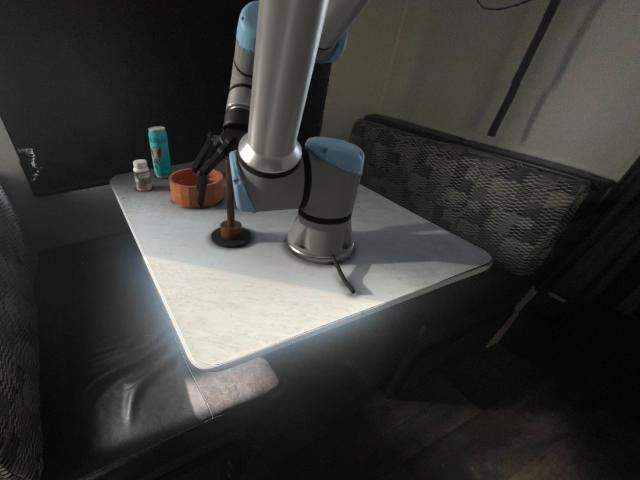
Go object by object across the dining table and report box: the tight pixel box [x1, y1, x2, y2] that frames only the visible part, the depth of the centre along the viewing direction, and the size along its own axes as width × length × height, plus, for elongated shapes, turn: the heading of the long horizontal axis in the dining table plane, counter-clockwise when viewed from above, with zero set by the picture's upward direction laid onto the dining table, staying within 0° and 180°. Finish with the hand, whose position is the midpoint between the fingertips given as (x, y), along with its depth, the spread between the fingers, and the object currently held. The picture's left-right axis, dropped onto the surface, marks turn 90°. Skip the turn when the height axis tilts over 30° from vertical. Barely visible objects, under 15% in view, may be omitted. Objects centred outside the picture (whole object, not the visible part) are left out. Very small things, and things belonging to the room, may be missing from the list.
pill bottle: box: [132, 158, 153, 191], centre depth 104 cm, size 5×5×8 cm
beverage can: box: [148, 125, 172, 179], centre depth 110 cm, size 6×6×15 cm
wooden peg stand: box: [219, 157, 243, 240], centre depth 76 cm, size 5×5×18 cm
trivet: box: [210, 226, 252, 249], centre depth 82 cm, size 10×10×1 cm
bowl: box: [168, 167, 225, 209], centre depth 98 cm, size 16×16×6 cm
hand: (226, 208), depth 75 cm, fingers open, 12 cm apart
